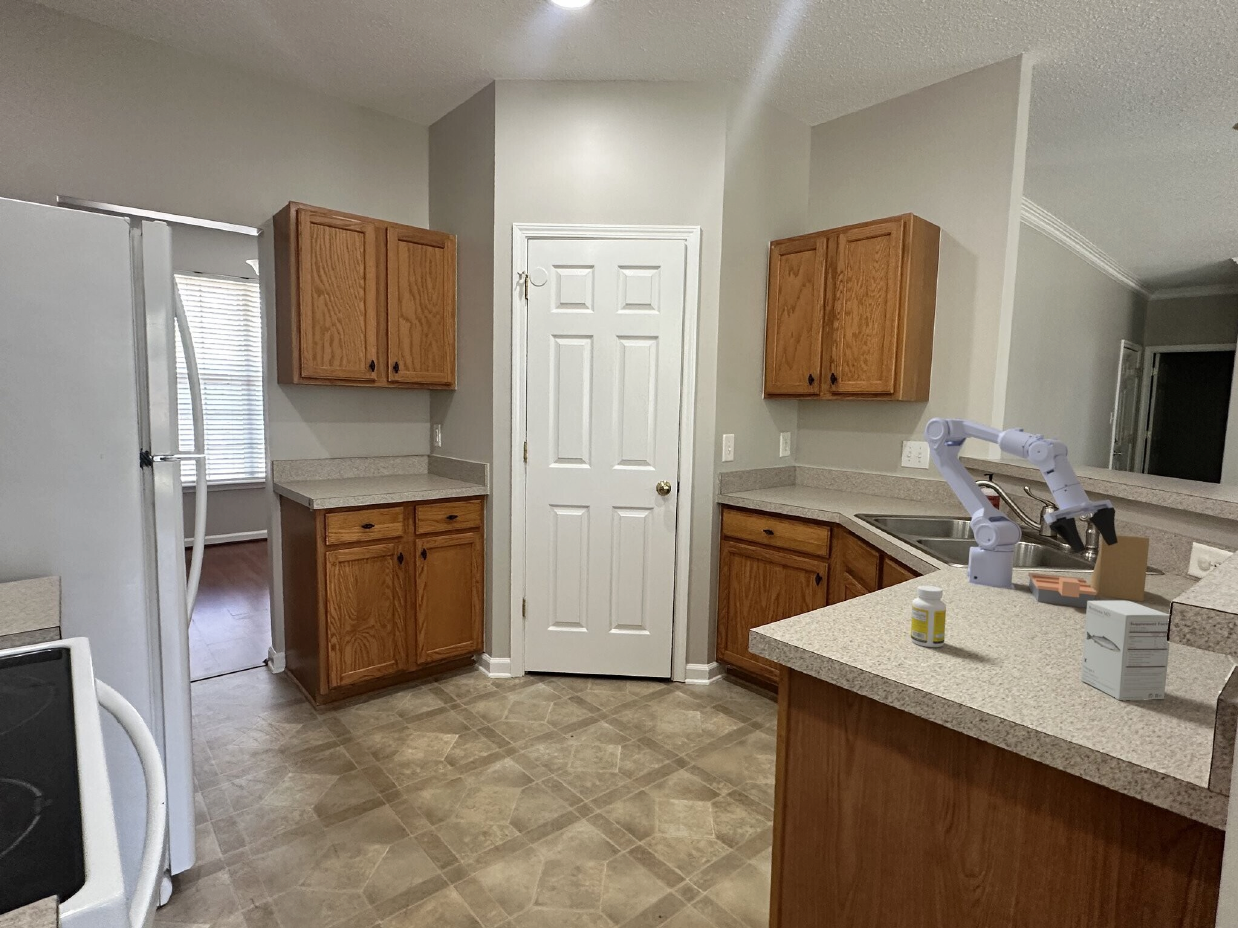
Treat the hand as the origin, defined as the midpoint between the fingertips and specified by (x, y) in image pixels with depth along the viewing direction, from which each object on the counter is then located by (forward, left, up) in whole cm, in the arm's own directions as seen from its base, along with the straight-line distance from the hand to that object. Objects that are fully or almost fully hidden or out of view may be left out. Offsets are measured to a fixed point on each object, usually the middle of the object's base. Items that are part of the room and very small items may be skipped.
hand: (1097, 547), depth 140 cm
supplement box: (-6, -50, -13) cm, 52 cm away
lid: (-5, +3, -10) cm, 11 cm away
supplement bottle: (-32, -41, -13) cm, 54 cm away
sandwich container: (+8, +19, -14) cm, 25 cm away
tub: (-5, +5, -13) cm, 15 cm away
